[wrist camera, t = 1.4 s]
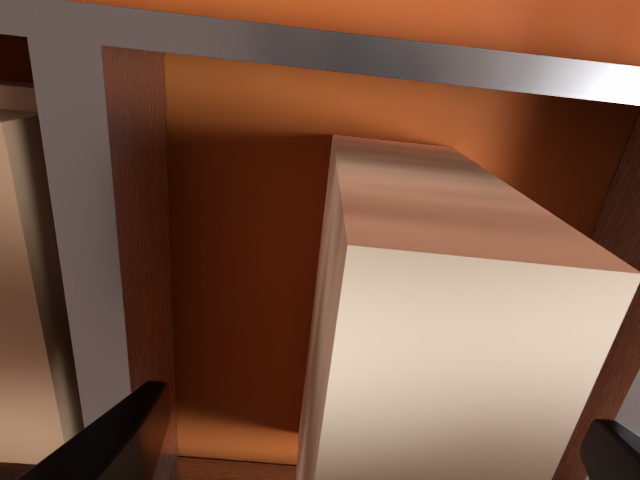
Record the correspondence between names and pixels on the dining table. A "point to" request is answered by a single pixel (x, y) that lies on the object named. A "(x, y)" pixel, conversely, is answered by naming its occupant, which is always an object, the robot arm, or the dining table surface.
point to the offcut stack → (31, 295)
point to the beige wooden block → (448, 322)
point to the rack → (153, 198)
